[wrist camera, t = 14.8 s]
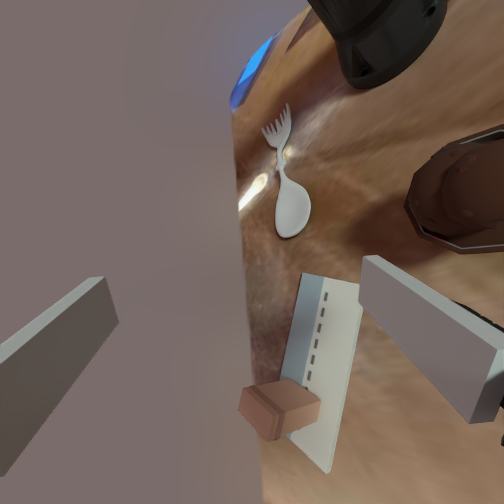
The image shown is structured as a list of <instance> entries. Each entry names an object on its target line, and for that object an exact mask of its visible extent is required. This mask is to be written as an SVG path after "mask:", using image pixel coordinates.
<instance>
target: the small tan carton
mask: <svg viewBox="0 0 504 504" xmlns="http://www.w3.org/2000/svg"><path fill="white" fill-rule="evenodd" d="M320 405H321V400H320V399H319V398H317V397H316V396H315V395H313V394H312V393H310V392H309V391H307V390H306V389H304V388H303V387H302V386H300V385H299V384H297V383H296V382H294V381H293V380H292V379H286V380H281V381H276V382H271V383H266V384H261V385H256V386H255V385H253V386H249V387H246V388H243V391H242V395H241V400H240V404H239V408H238V411H239V412H240V413H241V414H242V415H243V416H244V417H245V418H246V419H247V421H248V422H249V423H250V424H251V425H252V426H253V427H254V428H255V429H256V430H257V432H258V433H259V434H260V435H261V436H262V437H263V438H264V439H265V440H266V441H267V442H270V441H273V440H274V441H275V440H277V439H279V438H280V437H282V436H284V435H287V434H289V433H291V432H294V431H296V430H298V429H301V428H303V427H305V426H308V425H310V424H312V423H315V422H317V420H318V415H319V410H320Z"/></svg>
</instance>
